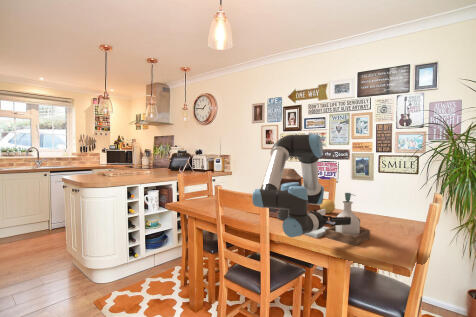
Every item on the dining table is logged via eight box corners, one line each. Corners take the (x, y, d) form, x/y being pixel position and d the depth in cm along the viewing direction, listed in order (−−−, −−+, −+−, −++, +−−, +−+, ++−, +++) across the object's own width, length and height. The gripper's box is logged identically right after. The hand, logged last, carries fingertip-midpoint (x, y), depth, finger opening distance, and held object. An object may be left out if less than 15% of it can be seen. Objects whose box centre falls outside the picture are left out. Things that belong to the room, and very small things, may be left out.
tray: (292, 230, 138) (292, 227, 138) (308, 225, 147) (308, 222, 147) (316, 238, 126) (316, 234, 126) (332, 232, 136) (332, 228, 136)
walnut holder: (324, 237, 128) (325, 229, 128) (340, 231, 138) (340, 223, 138) (355, 245, 116) (355, 237, 116) (369, 238, 126) (369, 230, 126)
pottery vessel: (276, 209, 191) (276, 169, 190) (269, 202, 216) (269, 167, 215) (309, 208, 193) (310, 169, 192) (298, 202, 218) (299, 167, 218)
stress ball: (336, 215, 175) (335, 204, 183) (334, 206, 170) (333, 195, 177) (321, 216, 179) (320, 205, 186) (319, 208, 173) (318, 196, 180)
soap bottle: (361, 241, 122) (362, 194, 121) (341, 241, 122) (341, 194, 122) (352, 235, 132) (353, 191, 131) (334, 234, 132) (334, 191, 131)
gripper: (288, 224, 116) (314, 217, 130) (339, 238, 97) (364, 228, 111) (288, 208, 116) (314, 202, 130) (340, 219, 97) (364, 211, 111)
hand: (337, 214), depth 120 cm, fingers open, 13 cm apart
